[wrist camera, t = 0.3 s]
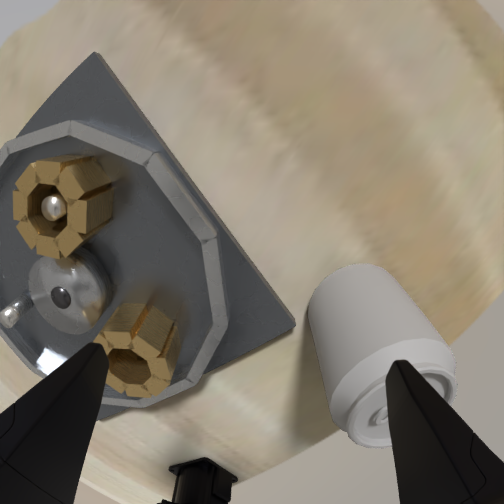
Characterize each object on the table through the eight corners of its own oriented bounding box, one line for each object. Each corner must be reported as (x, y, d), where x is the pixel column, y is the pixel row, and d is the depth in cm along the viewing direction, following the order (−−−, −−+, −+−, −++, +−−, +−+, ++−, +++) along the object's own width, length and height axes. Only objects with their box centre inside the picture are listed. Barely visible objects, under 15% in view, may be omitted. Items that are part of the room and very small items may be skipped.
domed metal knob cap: (80, 329, 25) (67, 347, 22) (32, 271, 23) (15, 284, 21) (127, 295, 24) (114, 313, 21) (74, 227, 22) (55, 238, 19)
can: (379, 343, 26) (429, 451, 15) (297, 337, 26) (316, 460, 15) (407, 265, 23) (492, 357, 12) (317, 252, 23) (365, 358, 12)
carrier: (99, 414, 30) (86, 443, 26) (-44, 242, 23) (-71, 258, 19) (294, 318, 25) (301, 354, 21) (100, 54, 18) (68, 41, 14)
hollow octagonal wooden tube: (155, 376, 26) (143, 408, 23) (97, 334, 25) (78, 362, 21) (195, 336, 25) (185, 369, 21) (131, 288, 23) (111, 315, 20)
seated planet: (76, 253, 22) (49, 274, 19) (32, 191, 21) (1, 203, 17) (129, 205, 21) (104, 220, 17) (81, 137, 19) (49, 140, 16)
